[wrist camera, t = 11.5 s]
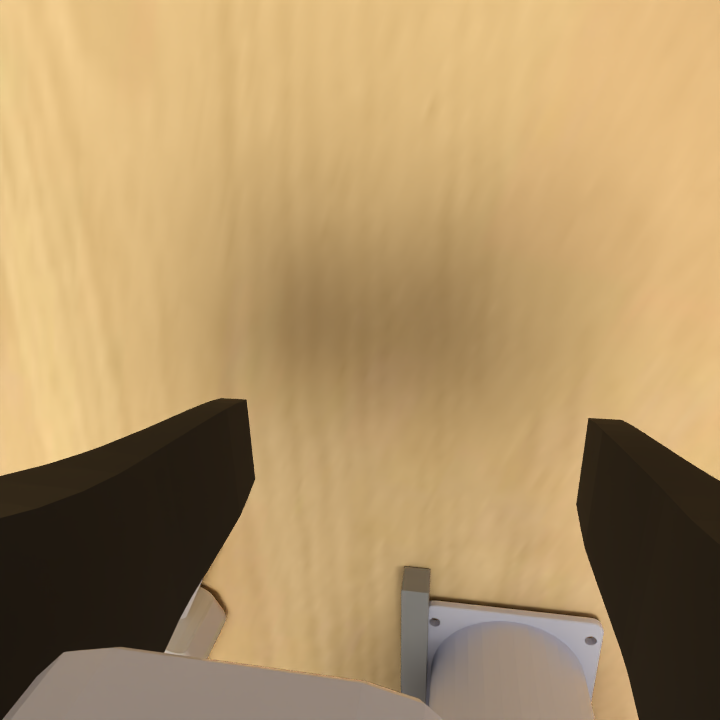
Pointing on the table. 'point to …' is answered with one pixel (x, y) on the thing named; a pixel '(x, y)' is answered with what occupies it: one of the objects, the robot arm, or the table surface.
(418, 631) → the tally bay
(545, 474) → the table surface
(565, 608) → the table surface
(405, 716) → the robot arm
